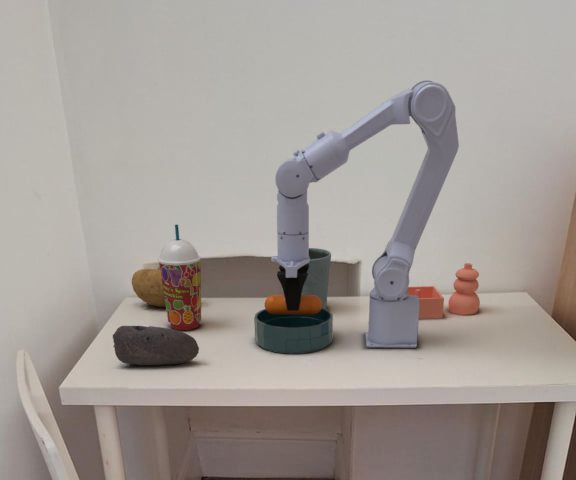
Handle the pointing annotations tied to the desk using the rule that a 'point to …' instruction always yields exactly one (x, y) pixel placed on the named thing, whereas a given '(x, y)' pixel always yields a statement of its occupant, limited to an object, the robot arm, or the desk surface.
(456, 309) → the bottle and box
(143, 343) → the perforated stone tool
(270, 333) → the teal shallow bowl
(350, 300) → the desk surface
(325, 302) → the green cylindrical vase
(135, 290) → the potato
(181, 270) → the smoothie
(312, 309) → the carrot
